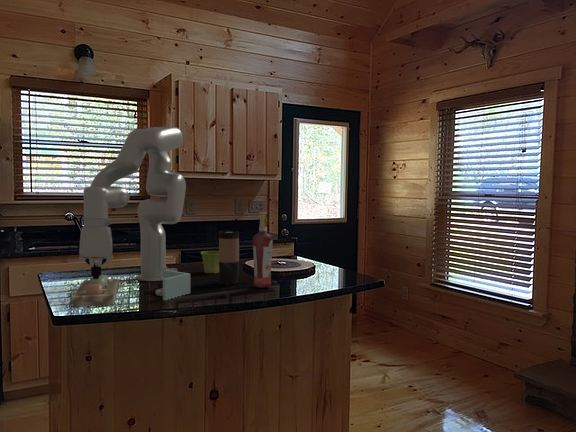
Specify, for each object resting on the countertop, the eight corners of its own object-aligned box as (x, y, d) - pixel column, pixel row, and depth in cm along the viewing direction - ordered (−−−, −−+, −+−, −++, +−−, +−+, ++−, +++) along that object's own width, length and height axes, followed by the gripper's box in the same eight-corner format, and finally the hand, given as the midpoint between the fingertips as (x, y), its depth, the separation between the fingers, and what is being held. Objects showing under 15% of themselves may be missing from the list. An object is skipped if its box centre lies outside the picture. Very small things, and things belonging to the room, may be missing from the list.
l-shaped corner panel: (165, 290, 177) (165, 269, 176) (190, 294, 170) (190, 273, 170) (139, 297, 166) (139, 275, 166) (165, 302, 160) (165, 279, 160)
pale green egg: (105, 290, 168) (105, 276, 167) (104, 293, 163) (104, 279, 163) (90, 291, 167) (90, 276, 166) (89, 294, 162) (88, 279, 162)
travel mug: (242, 282, 189) (242, 231, 188) (232, 286, 182) (232, 232, 181) (225, 280, 192) (225, 229, 191) (214, 284, 186) (214, 231, 184)
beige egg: (108, 288, 176) (107, 274, 175) (106, 291, 171) (106, 276, 171) (93, 288, 174) (93, 274, 174) (92, 291, 170) (91, 277, 169)
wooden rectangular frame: (119, 286, 179) (119, 278, 179) (113, 304, 154) (113, 295, 154) (84, 288, 176) (83, 280, 176) (72, 306, 151) (71, 297, 151)
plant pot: (213, 269, 215) (213, 250, 214) (227, 272, 209) (227, 252, 208) (196, 272, 208) (196, 252, 208) (209, 275, 202) (209, 254, 201)
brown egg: (103, 298, 160) (103, 283, 160) (101, 302, 156) (101, 286, 155) (87, 299, 159) (87, 284, 159) (85, 303, 154) (85, 287, 154)
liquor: (268, 290, 176) (269, 212, 174) (249, 288, 178) (249, 212, 176) (274, 286, 183) (275, 211, 181) (256, 284, 185) (257, 211, 183)
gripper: (120, 222, 168) (120, 275, 170) (73, 222, 165) (74, 276, 166) (118, 224, 161) (118, 279, 162) (69, 224, 157) (70, 281, 158)
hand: (96, 278), depth 164 cm, fingers closed
